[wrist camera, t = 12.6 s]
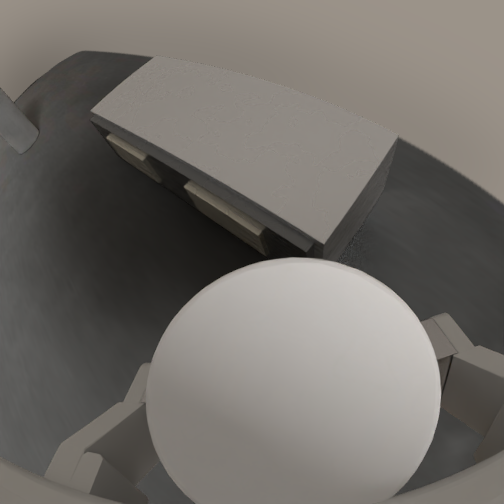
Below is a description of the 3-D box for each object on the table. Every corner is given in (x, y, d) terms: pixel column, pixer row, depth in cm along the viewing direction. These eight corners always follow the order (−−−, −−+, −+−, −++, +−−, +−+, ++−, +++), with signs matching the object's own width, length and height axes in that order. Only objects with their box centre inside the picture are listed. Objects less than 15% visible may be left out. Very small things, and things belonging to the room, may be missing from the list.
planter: (32, 129, 35) (-4, 88, 25) (43, 131, 33) (3, 86, 24) (15, 152, 33) (-24, 112, 24) (24, 156, 32) (-19, 113, 23)
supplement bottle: (379, 335, 12) (504, 252, 3) (344, 451, 10) (401, 583, 2) (263, 308, 14) (175, 181, 5) (227, 419, 12) (74, 479, 3)
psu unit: (115, 158, 26) (82, 118, 21) (177, 99, 28) (156, 55, 23) (311, 295, 18) (311, 260, 13) (382, 193, 20) (398, 134, 14)
